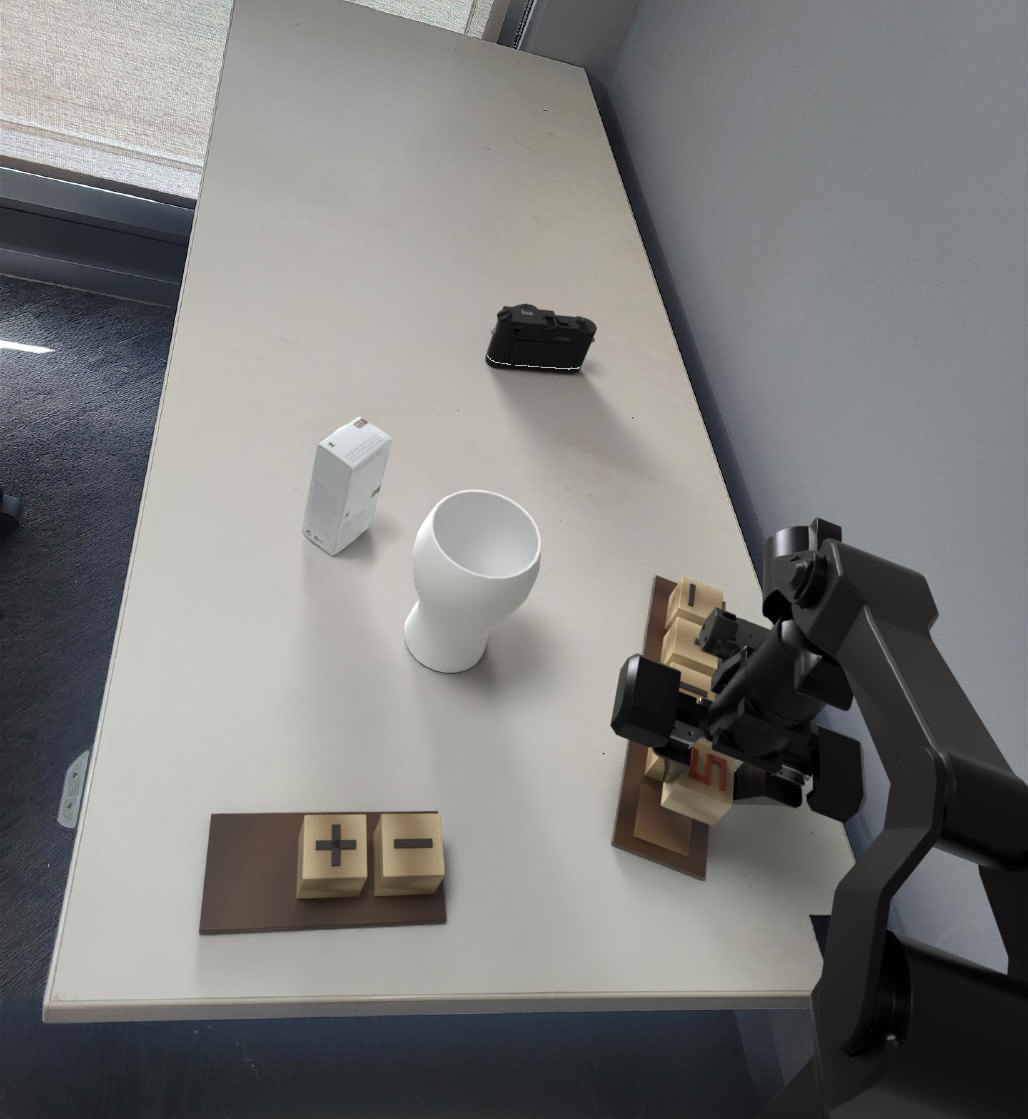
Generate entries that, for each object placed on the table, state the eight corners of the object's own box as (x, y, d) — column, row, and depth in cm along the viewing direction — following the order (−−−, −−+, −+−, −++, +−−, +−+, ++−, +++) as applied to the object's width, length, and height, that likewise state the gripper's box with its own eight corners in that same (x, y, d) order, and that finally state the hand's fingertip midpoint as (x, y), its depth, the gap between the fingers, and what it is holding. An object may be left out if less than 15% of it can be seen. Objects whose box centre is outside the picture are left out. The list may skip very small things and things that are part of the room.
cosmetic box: (333, 558, 87) (354, 471, 79) (297, 532, 88) (314, 444, 80) (373, 524, 91) (396, 438, 83) (339, 499, 92) (359, 413, 84)
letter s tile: (716, 776, 74) (736, 753, 72) (712, 826, 71) (734, 804, 68) (666, 756, 74) (684, 733, 72) (660, 805, 71) (679, 783, 68)
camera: (572, 343, 124) (591, 295, 119) (586, 378, 119) (607, 330, 114) (472, 334, 119) (488, 285, 114) (483, 370, 114) (500, 320, 109)
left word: (436, 813, 72) (449, 788, 69) (444, 922, 66) (459, 900, 63) (210, 816, 67) (214, 788, 64) (198, 934, 61) (202, 909, 58)
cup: (462, 576, 90) (503, 471, 80) (521, 662, 84) (573, 561, 74) (367, 610, 83) (399, 502, 74) (424, 705, 78) (466, 602, 68)
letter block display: (702, 880, 74) (725, 858, 71) (610, 845, 74) (630, 821, 71) (723, 605, 97) (741, 580, 94) (653, 577, 97) (669, 551, 94)
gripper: (901, 640, 68) (800, 743, 78) (669, 550, 68) (599, 664, 78) (916, 772, 60) (802, 867, 70) (652, 669, 60) (575, 779, 70)
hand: (692, 787), depth 72 cm, fingers closed on letter s tile, 4 cm apart
